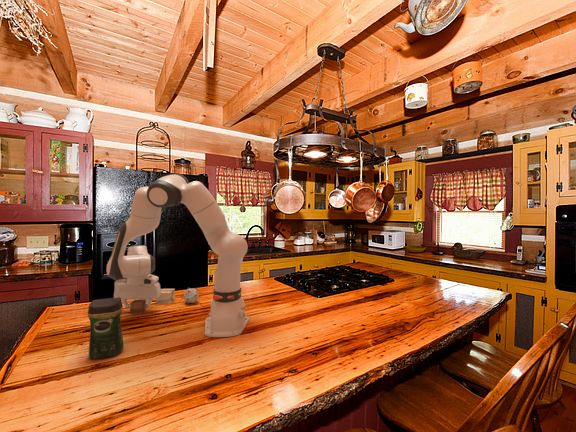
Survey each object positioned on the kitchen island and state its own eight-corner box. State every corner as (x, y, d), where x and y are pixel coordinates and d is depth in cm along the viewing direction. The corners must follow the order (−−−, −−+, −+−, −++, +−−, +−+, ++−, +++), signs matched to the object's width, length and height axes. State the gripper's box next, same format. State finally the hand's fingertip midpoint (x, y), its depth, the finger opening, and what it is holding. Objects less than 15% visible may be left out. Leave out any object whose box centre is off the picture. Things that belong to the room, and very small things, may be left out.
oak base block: (170, 304, 139) (170, 292, 138) (156, 304, 138) (156, 292, 138) (174, 299, 146) (174, 288, 145) (161, 299, 145) (161, 288, 145)
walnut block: (141, 313, 126) (141, 302, 126) (130, 313, 126) (130, 303, 125) (145, 309, 131) (145, 299, 131) (135, 309, 131) (135, 299, 130)
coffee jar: (125, 345, 96) (125, 294, 96) (120, 356, 89) (119, 301, 88) (93, 350, 93) (92, 296, 93) (84, 362, 86) (84, 304, 85)
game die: (194, 309, 142) (206, 292, 144) (187, 308, 134) (200, 291, 136) (182, 299, 144) (194, 283, 146) (174, 298, 136) (187, 281, 138)
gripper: (110, 281, 124) (110, 310, 124) (156, 280, 125) (156, 309, 126) (118, 277, 130) (118, 305, 130) (162, 277, 132) (162, 305, 132)
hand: (137, 307), depth 128 cm, fingers open, 8 cm apart
